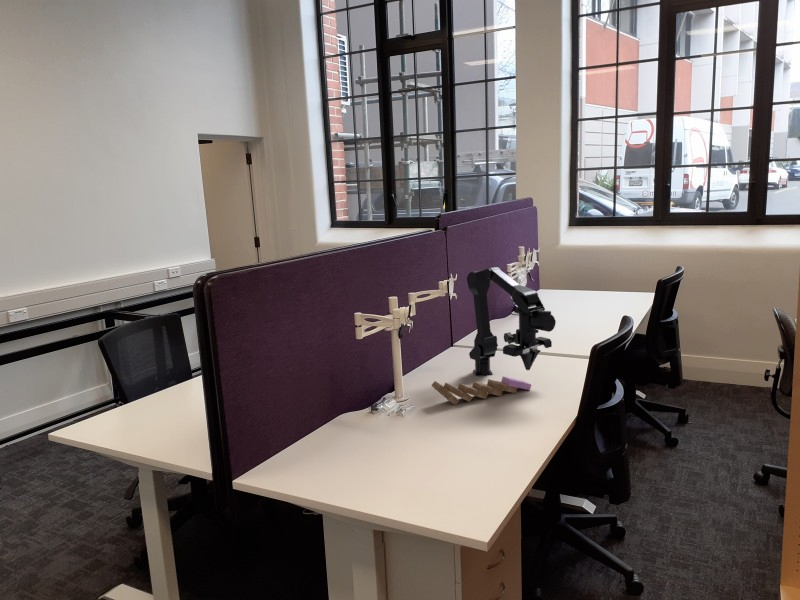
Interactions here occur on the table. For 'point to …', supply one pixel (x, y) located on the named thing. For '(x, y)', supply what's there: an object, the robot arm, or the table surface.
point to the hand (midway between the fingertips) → (527, 370)
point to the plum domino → (516, 383)
